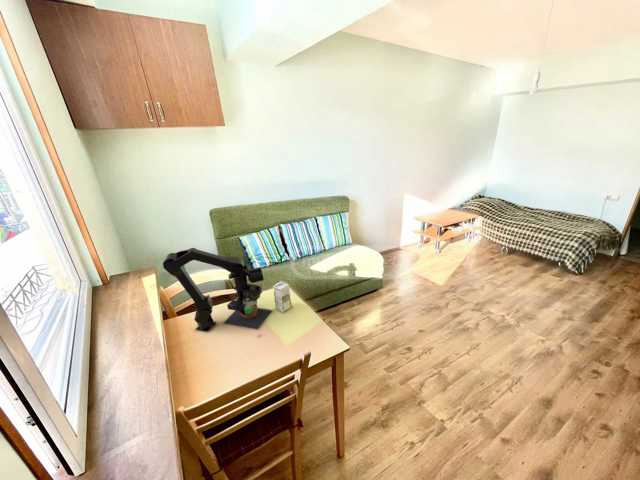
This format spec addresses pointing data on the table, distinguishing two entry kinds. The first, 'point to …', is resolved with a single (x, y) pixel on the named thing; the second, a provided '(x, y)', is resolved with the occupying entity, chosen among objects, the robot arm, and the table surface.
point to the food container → (250, 308)
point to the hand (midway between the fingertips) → (247, 310)
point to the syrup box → (282, 296)
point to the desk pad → (251, 323)
